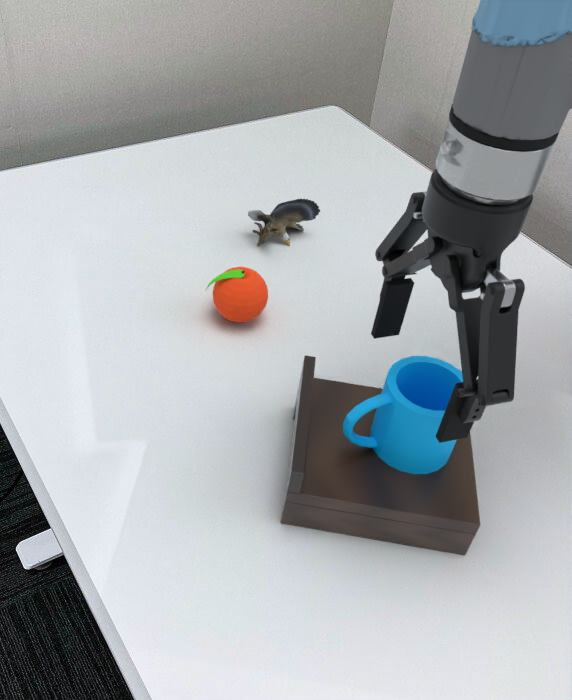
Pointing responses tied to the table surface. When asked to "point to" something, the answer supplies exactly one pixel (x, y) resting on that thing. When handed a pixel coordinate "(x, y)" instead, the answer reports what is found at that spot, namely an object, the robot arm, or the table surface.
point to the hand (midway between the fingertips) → (415, 382)
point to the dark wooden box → (371, 477)
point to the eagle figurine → (284, 218)
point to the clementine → (239, 294)
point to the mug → (409, 415)
